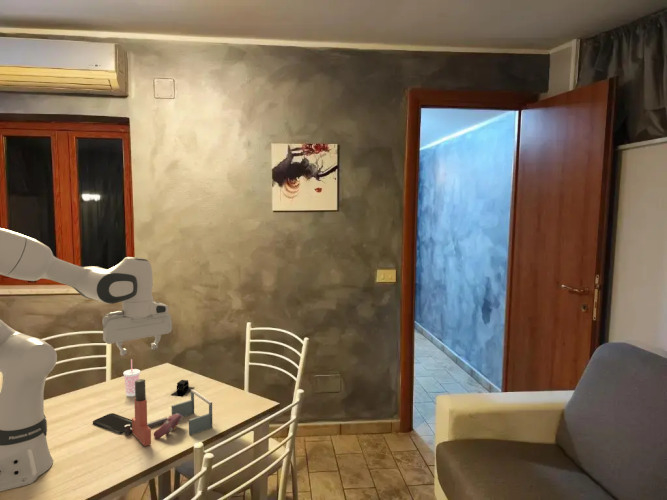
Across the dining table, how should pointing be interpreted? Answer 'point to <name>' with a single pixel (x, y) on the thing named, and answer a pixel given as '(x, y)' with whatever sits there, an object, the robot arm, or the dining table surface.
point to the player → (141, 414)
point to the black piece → (182, 388)
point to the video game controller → (168, 425)
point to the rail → (151, 424)
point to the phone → (113, 423)
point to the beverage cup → (131, 380)
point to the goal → (188, 409)
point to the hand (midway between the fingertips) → (139, 351)
